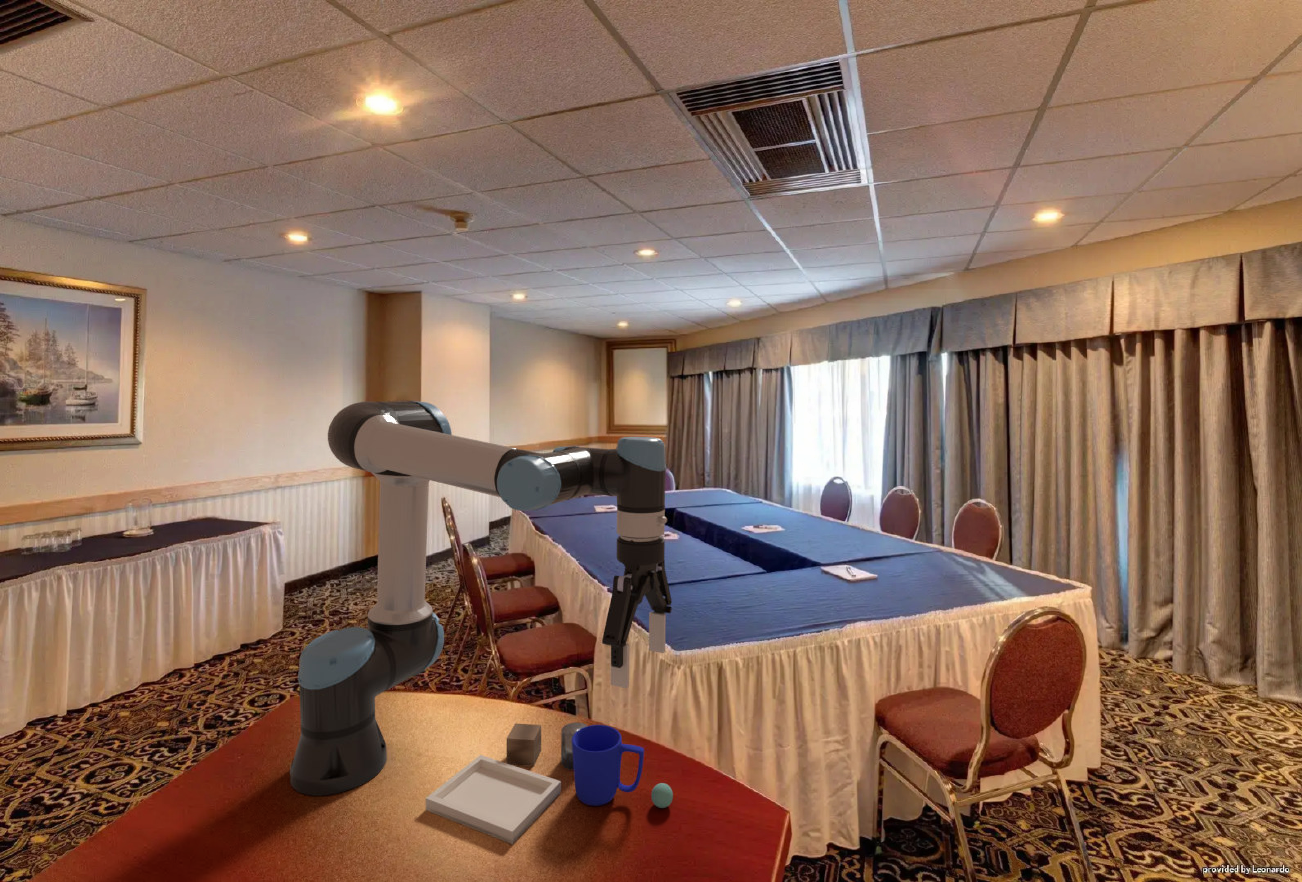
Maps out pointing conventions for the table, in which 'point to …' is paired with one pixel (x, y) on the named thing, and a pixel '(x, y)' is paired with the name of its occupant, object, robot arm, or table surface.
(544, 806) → the tray
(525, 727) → the walnut block
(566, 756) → the tin
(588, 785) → the mug
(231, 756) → the table surface
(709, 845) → the table surface
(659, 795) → the ball
